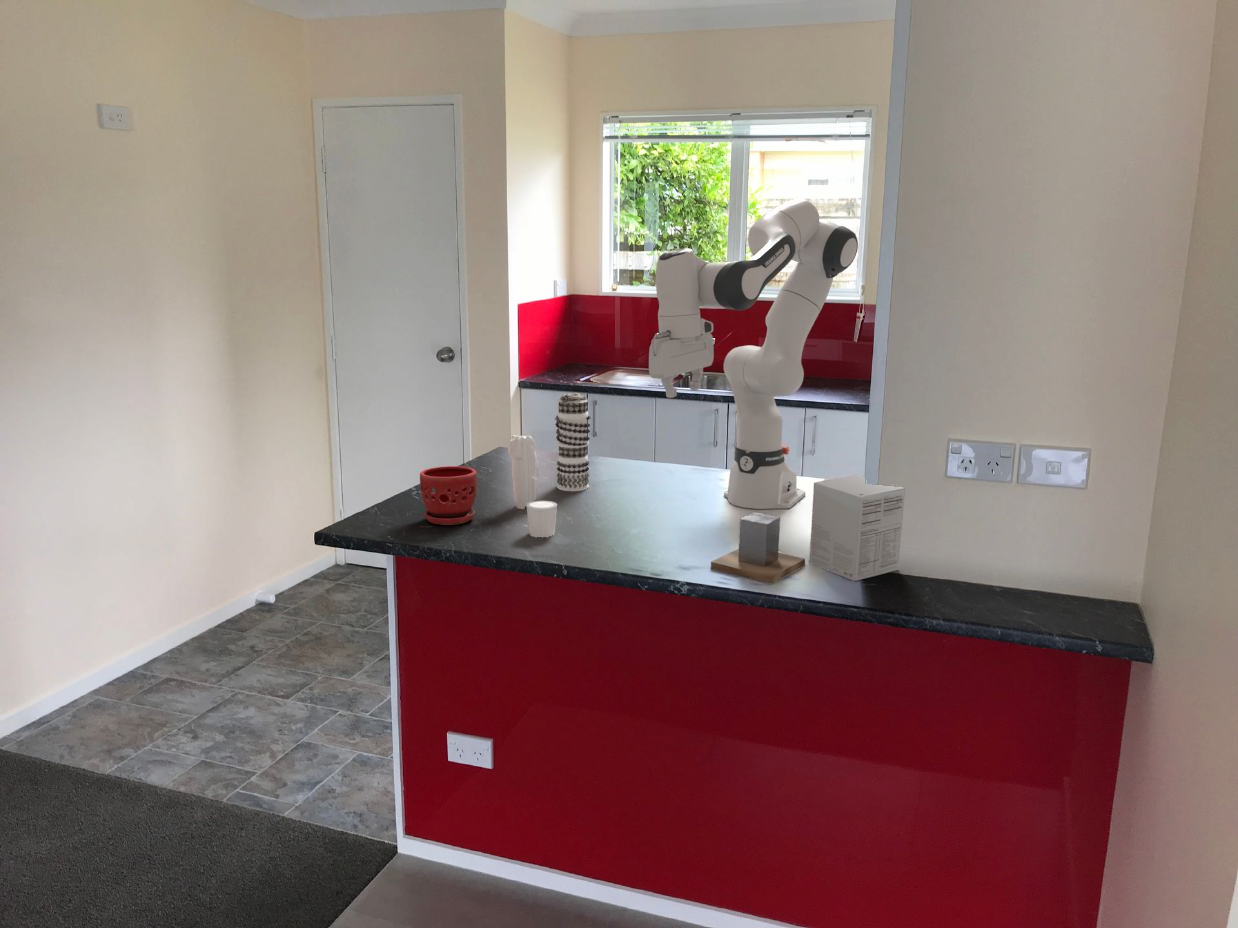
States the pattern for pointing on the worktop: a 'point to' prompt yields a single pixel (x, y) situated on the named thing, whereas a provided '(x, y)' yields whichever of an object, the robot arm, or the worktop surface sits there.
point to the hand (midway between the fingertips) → (683, 393)
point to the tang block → (758, 567)
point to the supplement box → (856, 527)
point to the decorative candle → (572, 442)
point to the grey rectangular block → (759, 539)
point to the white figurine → (524, 469)
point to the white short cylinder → (541, 518)
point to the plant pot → (449, 494)
